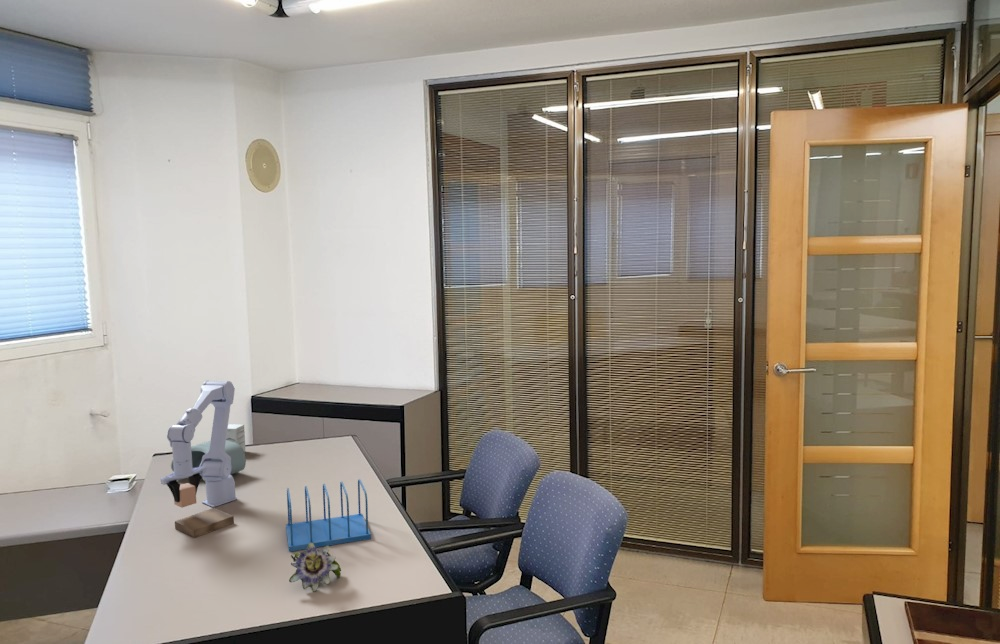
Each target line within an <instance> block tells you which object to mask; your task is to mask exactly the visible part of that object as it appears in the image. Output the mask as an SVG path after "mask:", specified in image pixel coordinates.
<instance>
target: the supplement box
mask: <svg viewBox="0 0 1000 644" xmlns="http://www.w3.org/2000/svg"><path fill="white" fill-rule="evenodd" d="M245 433H246V432H245V424H237V423H235V424H234V423H230V424H229V423H228V429H227V436H226V440H228V441H232V442H235V443H238V444H239V445H240V446H241V447H242V448H243V450H244V453H246V436H245Z"/></svg>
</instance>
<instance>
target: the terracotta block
mask: <svg viewBox="0 0 1000 644" xmlns="http://www.w3.org/2000/svg"><path fill="white" fill-rule="evenodd" d="M179 495H180V502H175V500H174V499H173V502H174V506H177V507H180V508H185V507H189V506H192V505H194V504H197V493H196V489H195V486H194V485H192V484H190V483H189V482H186V483H182V484H180V489H179Z"/></svg>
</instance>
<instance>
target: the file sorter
mask: <svg viewBox="0 0 1000 644" xmlns="http://www.w3.org/2000/svg"><path fill="white" fill-rule="evenodd" d="M339 484H340V485H339V486H340V490H339V491H340V492H339V493H340V510H341V516H336V517H331V505H330V503H331V502H330V496H329V492H328V489H327V486H326V484H325V483H323V484H322V499H323V500H322V501H323V518H321V519H314V520H312V512H311V511H312V507H311V497H310V494H309V490H308V486H307V485H304V497H305V498H304V500H305V519H306V520H305V521H300V522H293V513H292V511H293V510H292V501H291V494H290V488H289V487H287V488H286V503H287V523H286V524H285V532H286V541H287V547H288V552H297V551H303V550H306V549H307V547H308V545H309V543H310V542H311V543H313V544H314V546H315V547H316V548H320V547H326V546H333V545H339V544H341V545H342V544H346V543H347V544H348V543H354V542H360V541H366V540H372V536H371V535H372V533H371V532H370V529H369V520H368V519H369V517H368V516H369V511H368V510H369V509H368V507H369V506H368V495H367V490H366V488H365V486H364V484H363V481H362V479H361V478H359V479H357V499H358V502H357V503H358V504H357V505H358V513H355V514H351V515H350V510H349V509H350V505H349V503H350V502H349V495H348V493H347V489H346V487H345V485H344V484H345V483H344V482H343V481H340V482H339ZM360 486H361V487H360ZM361 488H362V491H363V493H364V497H365V517H364V514H363V513H361ZM343 492H344V495H345V499H346V500H345V501H346V510H347V511H346V515H344V505H343ZM326 498H327V510H328V511H327V510H326ZM326 511H327V513H328V514H327V513H326ZM326 514H327V515H328V518H327V517H326V516H327V515H326Z"/></svg>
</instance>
